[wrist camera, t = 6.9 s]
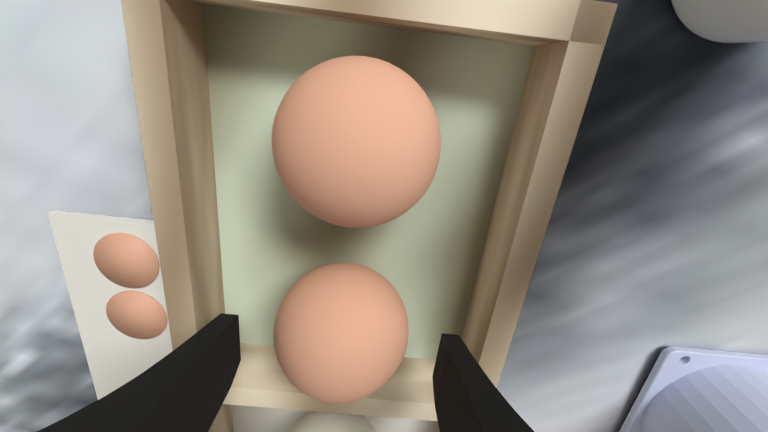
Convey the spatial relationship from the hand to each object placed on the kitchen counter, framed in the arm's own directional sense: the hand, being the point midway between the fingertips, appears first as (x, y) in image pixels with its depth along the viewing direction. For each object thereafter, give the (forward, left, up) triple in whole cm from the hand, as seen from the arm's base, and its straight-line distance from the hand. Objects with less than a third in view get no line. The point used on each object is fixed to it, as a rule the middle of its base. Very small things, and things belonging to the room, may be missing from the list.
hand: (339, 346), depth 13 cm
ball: (0, -7, -1) cm, 7 cm away
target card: (+10, +5, -4) cm, 12 cm away
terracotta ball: (0, 0, -1) cm, 1 cm away
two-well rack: (0, +4, -4) cm, 6 cm away
